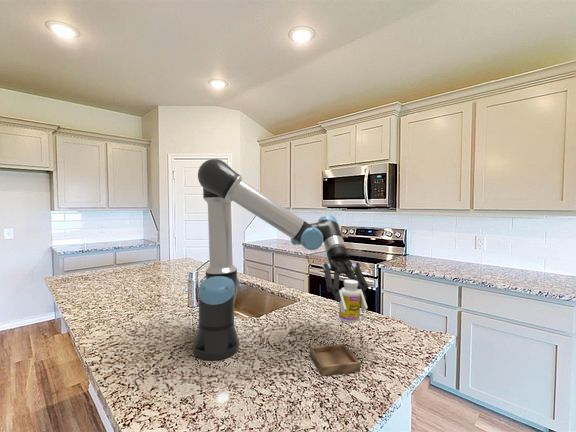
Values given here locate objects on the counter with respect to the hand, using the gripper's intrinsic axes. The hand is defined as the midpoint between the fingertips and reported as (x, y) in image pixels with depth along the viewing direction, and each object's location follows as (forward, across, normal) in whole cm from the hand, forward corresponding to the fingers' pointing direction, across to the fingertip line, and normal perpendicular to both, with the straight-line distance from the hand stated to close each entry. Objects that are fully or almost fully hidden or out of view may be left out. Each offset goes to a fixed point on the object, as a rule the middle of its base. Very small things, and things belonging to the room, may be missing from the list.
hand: (354, 310), depth 95 cm
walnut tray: (+12, +7, -11) cm, 18 cm away
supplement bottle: (+1, 0, -6) cm, 6 cm away
